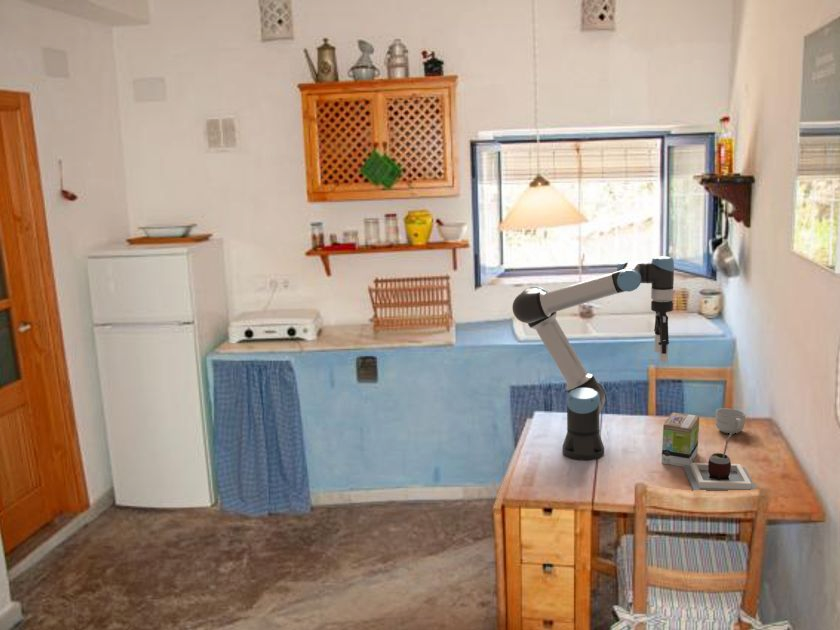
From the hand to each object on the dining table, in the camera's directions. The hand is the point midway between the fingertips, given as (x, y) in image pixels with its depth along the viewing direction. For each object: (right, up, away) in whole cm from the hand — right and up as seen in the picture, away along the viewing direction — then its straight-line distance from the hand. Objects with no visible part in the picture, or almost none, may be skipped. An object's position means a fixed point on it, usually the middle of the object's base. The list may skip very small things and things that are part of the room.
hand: (660, 356), depth 287 cm
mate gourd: (+12, -39, -24) cm, 48 cm away
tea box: (+6, -36, -4) cm, 37 cm away
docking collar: (+12, -40, -24) cm, 49 cm away
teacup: (+33, -31, +18) cm, 48 cm away
